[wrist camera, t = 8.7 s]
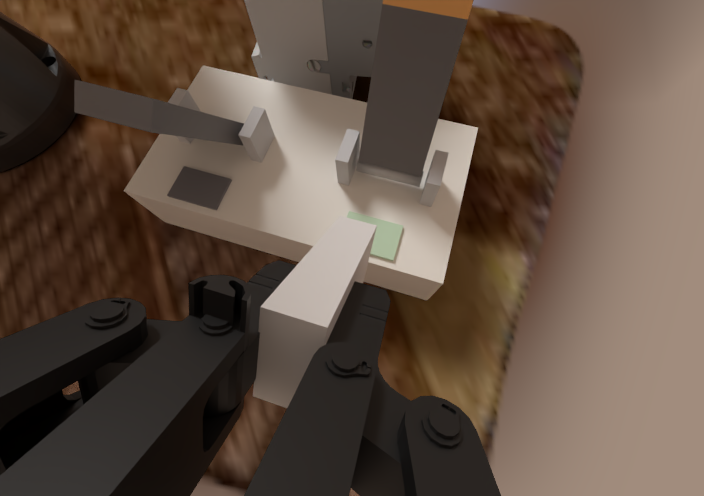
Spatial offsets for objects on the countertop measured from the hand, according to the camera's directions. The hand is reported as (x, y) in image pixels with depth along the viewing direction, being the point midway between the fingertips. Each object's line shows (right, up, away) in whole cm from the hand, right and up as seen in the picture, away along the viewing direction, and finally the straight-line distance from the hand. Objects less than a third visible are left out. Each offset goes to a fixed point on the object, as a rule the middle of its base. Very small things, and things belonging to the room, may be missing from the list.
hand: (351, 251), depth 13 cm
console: (-3, +5, +14) cm, 15 cm away
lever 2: (+2, +5, +8) cm, 10 cm away
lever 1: (-9, +8, +9) cm, 16 cm away
